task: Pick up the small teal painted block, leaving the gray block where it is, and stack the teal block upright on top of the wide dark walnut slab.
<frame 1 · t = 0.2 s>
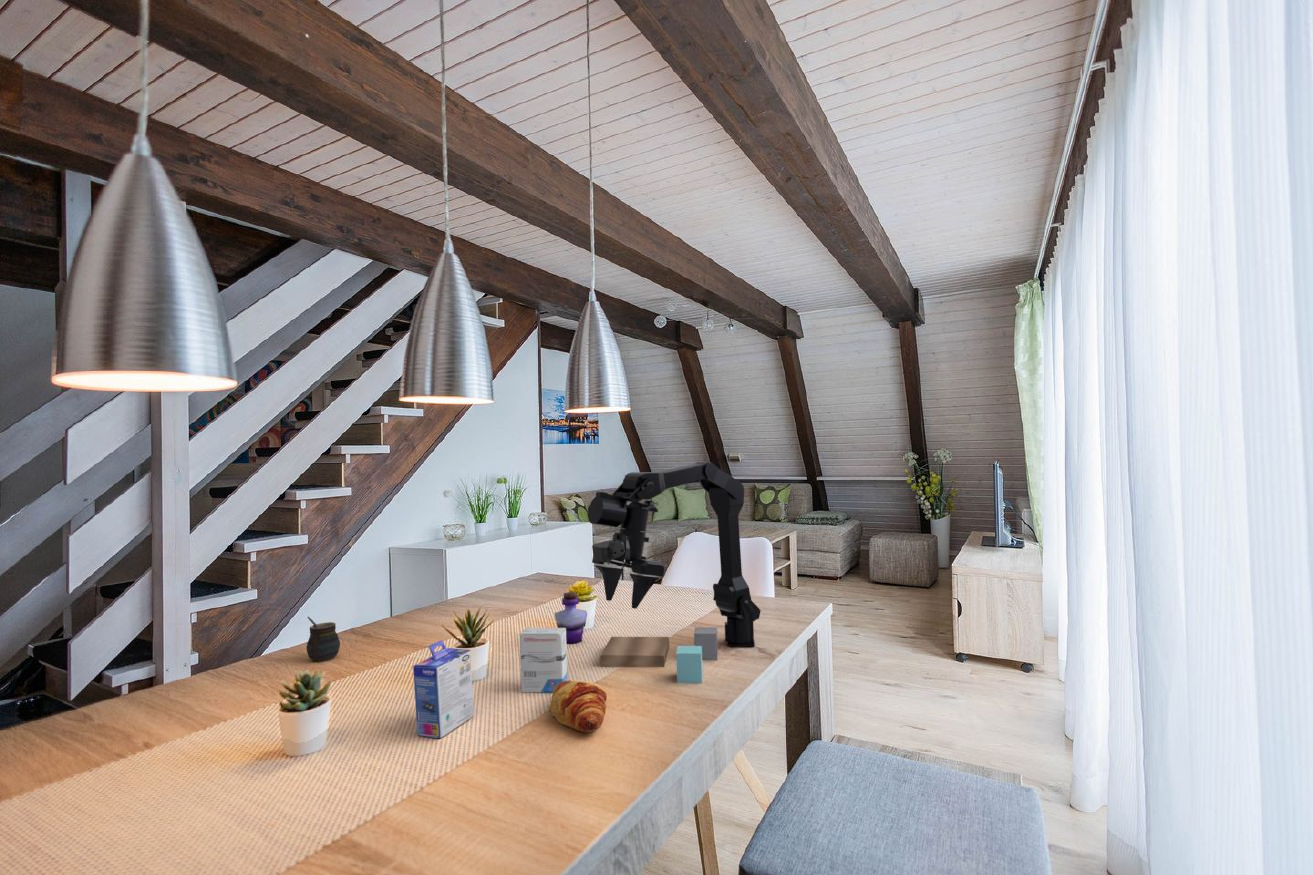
hand: (621, 604, 139), 15 cm above the table, tool pointing down, fingers open, 9 cm apart
potion bottle: (571, 641, 165), on the table
walnut slab: (636, 658, 151), on the table
croissant: (579, 717, 119), on the table
mate gourd: (322, 659, 157), on the table
ink box: (544, 689, 133), on the table
teal block: (690, 678, 136), on the table
ink cartridge box: (445, 726, 116), on the table
gray block: (706, 656, 150), on the table
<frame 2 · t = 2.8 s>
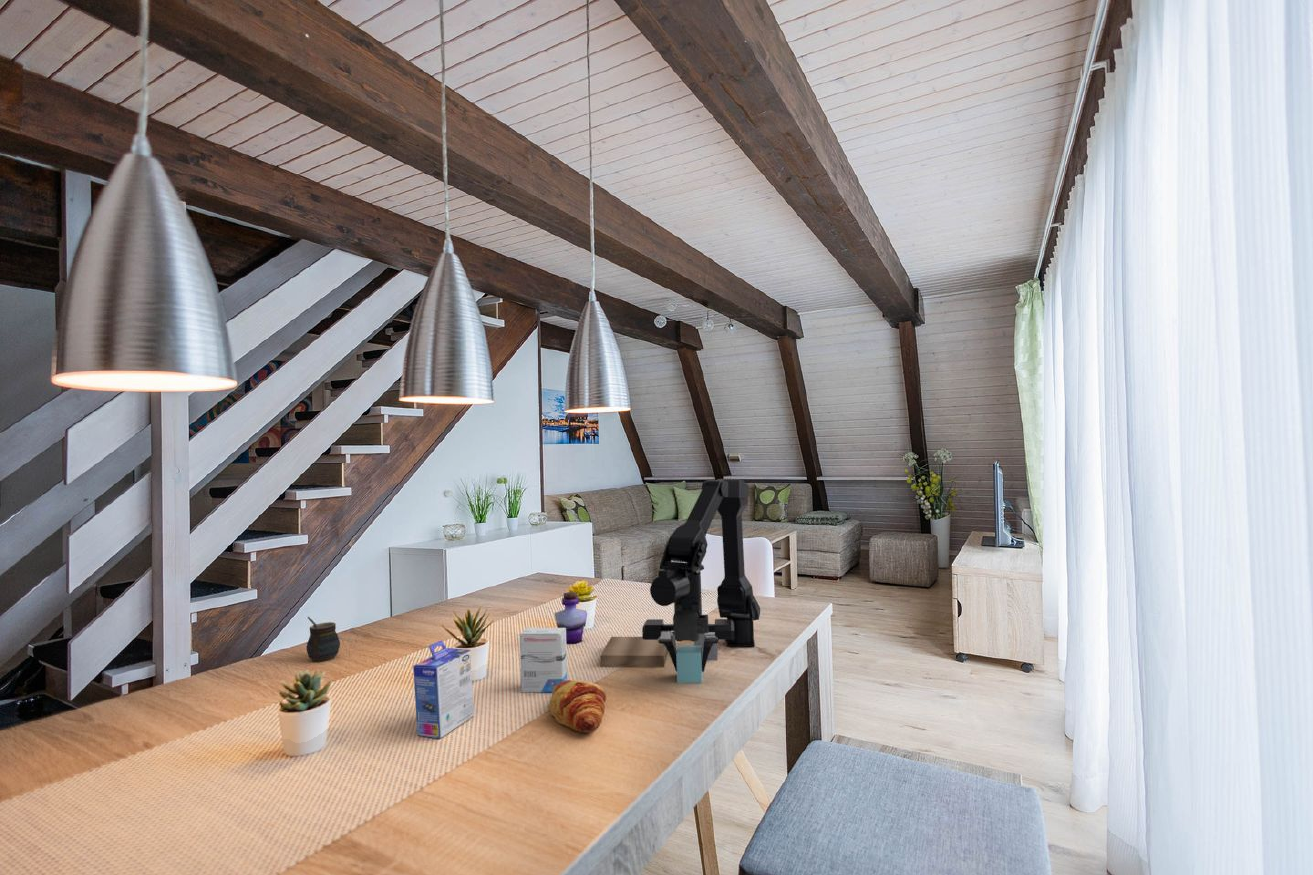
hand: (689, 670, 136), 2 cm above the table, tool pointing down, fingers closed on teal block, 5 cm apart
teal block: (690, 678, 136), on the table, touching gripper
everything else where it was.
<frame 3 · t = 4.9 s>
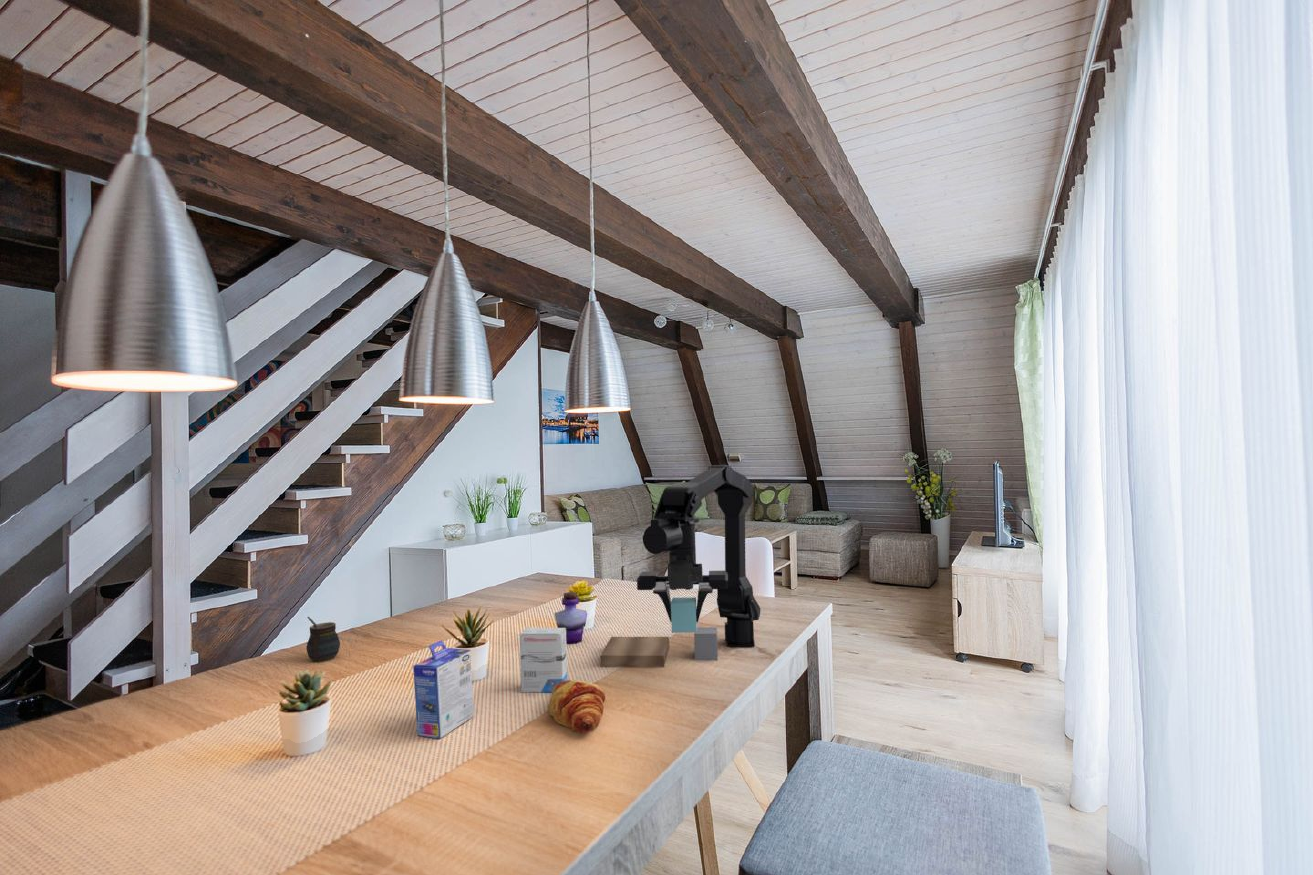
hand: (684, 621, 137), 11 cm above the table, tool pointing down, fingers closed on teal block, 5 cm apart
teal block: (684, 629, 137), point 10 cm above the table, touching gripper
everything else where it was.
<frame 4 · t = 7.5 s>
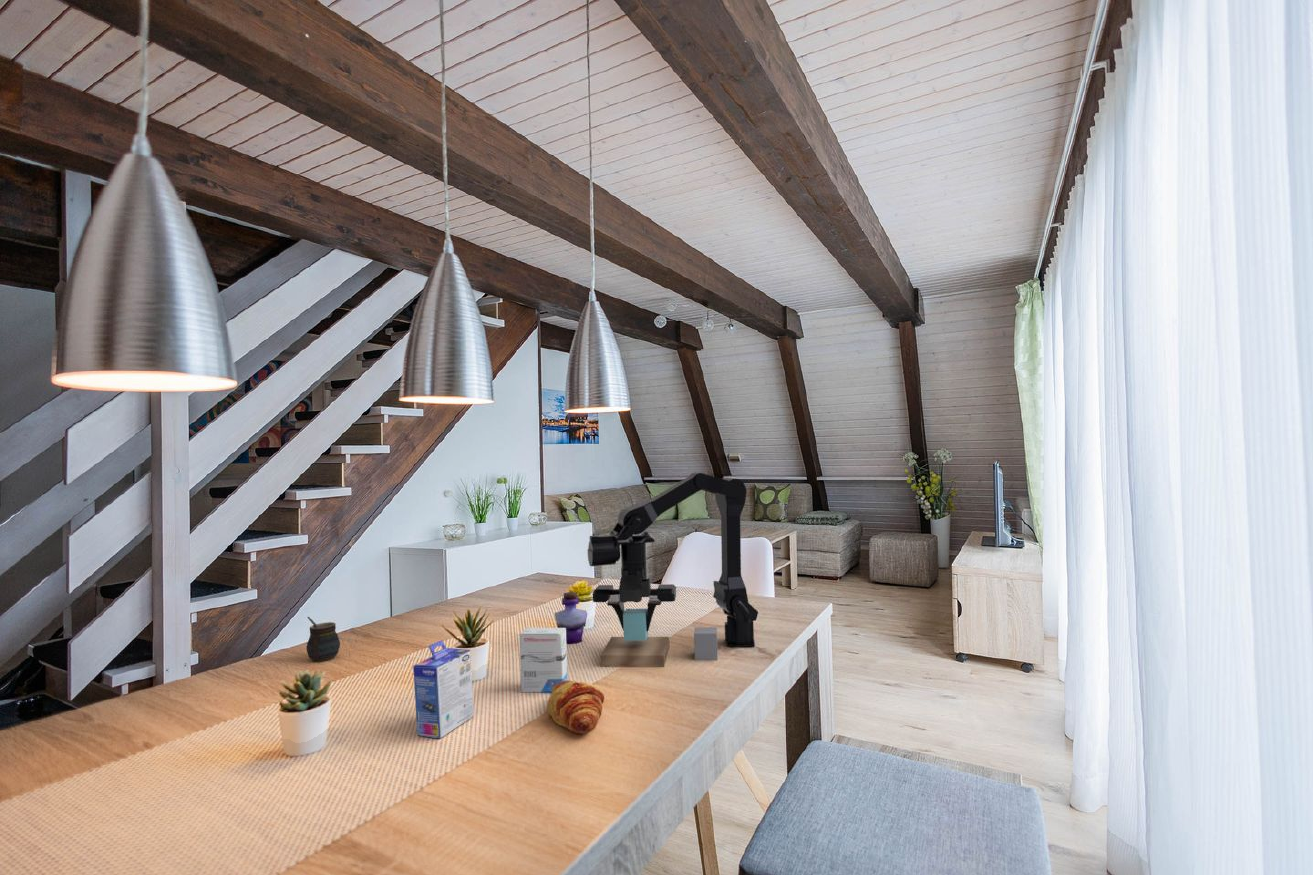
hand: (636, 630, 151), 6 cm above the table, tool pointing down, fingers closed on teal block, 5 cm apart
teal block: (636, 637, 151), point 4 cm above the table, touching gripper
everything else where it was.
when the fingers open (5 cm above the table, at t = 8.4 s): teal block drops 2 cm, resting on walnut slab.
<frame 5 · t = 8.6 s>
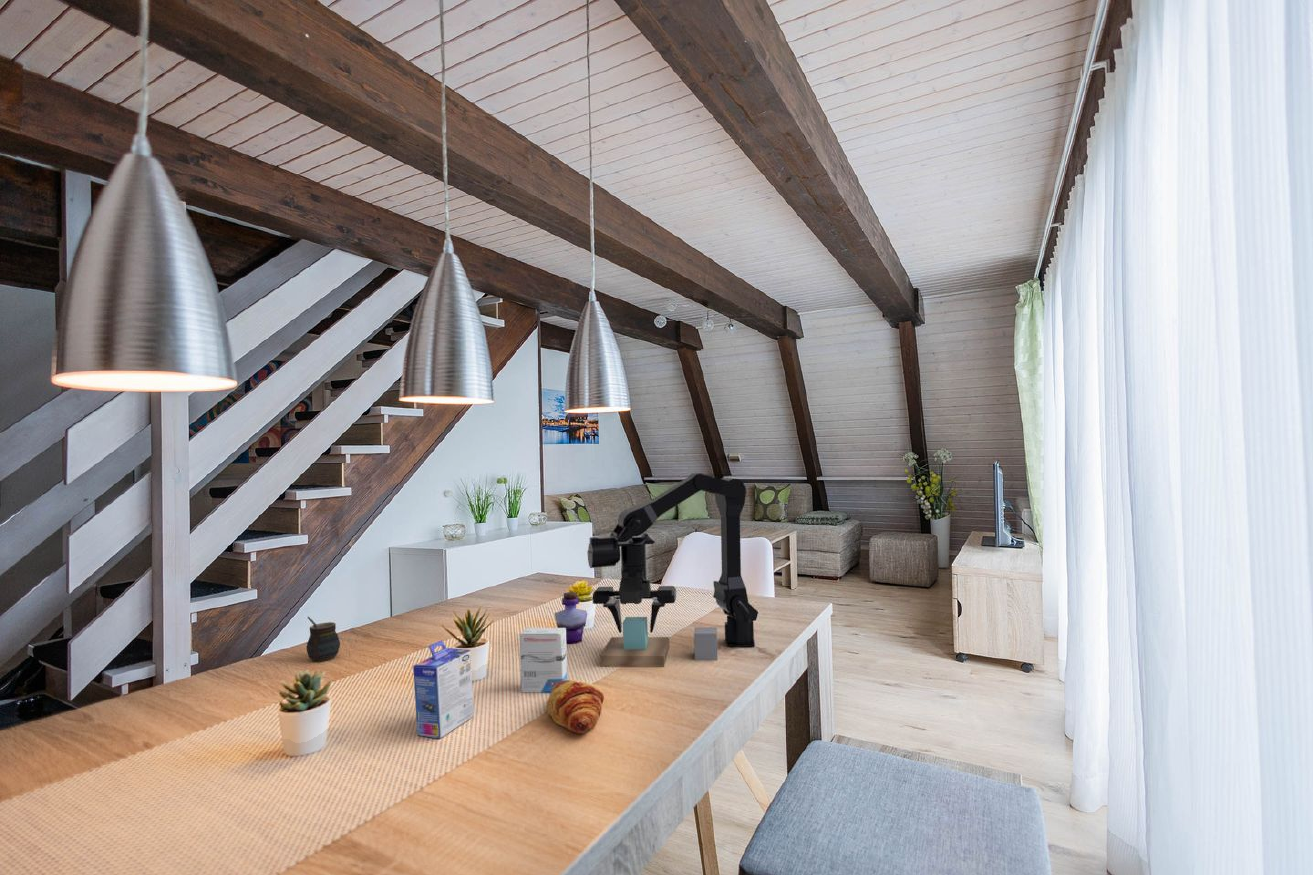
hand: (635, 632, 151), 5 cm above the table, tool pointing down, fingers open, 7 cm apart
walnut slab: (636, 659, 151), on the table, touching teal block
teal block: (636, 645, 151), point 2 cm above the table, touching walnut slab
everything else where it was.
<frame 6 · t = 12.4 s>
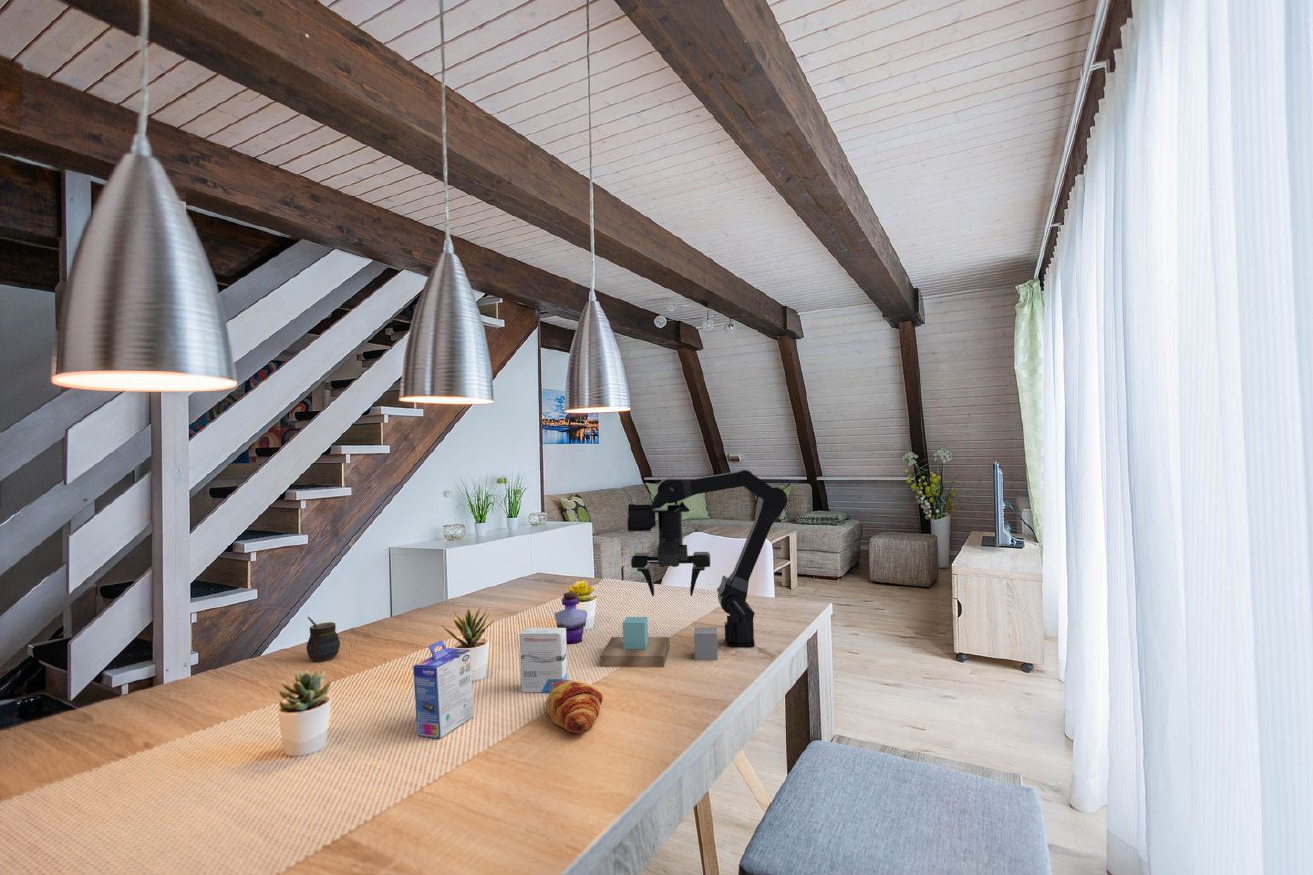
hand: (672, 595, 158), 12 cm above the table, tool pointing down, fingers open, 9 cm apart
walnut slab: (636, 659, 151), on the table
teal block: (636, 645, 151), point 2 cm above the table
everything else where it was.
at the end: teal block inside the target area on the walnut slab (0.1 cm from its centre), point 3.0 cm above the walnut slab's base; teal block tilted 0°; gray block moved 0.1 cm from its start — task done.
